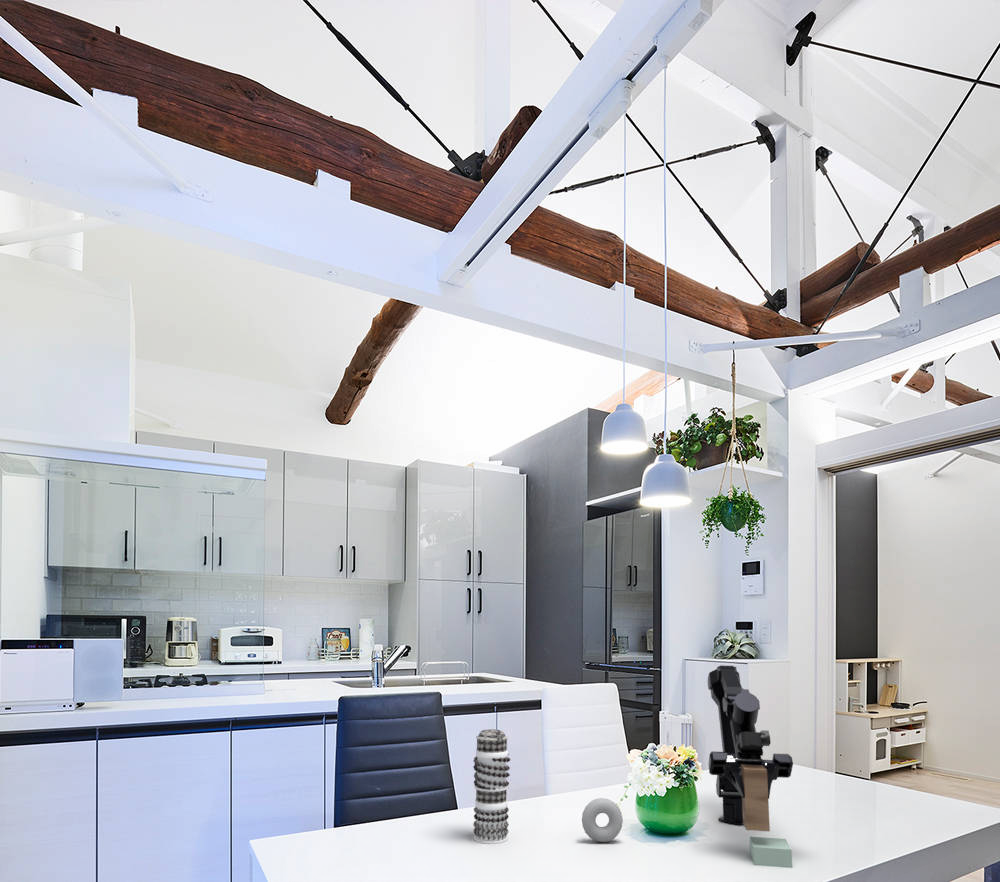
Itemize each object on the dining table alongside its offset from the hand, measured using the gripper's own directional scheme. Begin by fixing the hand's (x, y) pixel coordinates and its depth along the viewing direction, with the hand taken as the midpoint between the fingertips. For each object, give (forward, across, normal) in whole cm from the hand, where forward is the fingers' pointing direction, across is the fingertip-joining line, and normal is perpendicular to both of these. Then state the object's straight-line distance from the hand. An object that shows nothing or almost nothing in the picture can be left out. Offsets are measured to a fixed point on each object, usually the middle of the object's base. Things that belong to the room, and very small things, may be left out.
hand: (756, 797), depth 180 cm
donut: (+3, -35, +16) cm, 39 cm away
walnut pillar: (+4, 0, +6) cm, 7 cm away
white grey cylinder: (+4, -62, +15) cm, 64 cm away
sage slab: (+9, +3, +11) cm, 14 cm away
